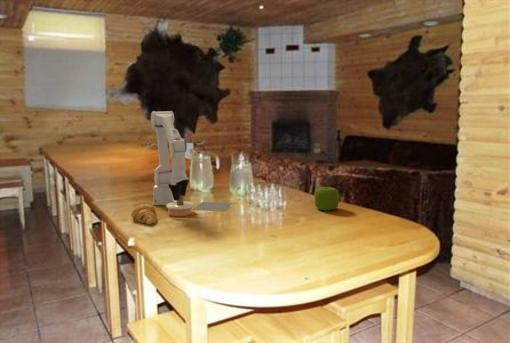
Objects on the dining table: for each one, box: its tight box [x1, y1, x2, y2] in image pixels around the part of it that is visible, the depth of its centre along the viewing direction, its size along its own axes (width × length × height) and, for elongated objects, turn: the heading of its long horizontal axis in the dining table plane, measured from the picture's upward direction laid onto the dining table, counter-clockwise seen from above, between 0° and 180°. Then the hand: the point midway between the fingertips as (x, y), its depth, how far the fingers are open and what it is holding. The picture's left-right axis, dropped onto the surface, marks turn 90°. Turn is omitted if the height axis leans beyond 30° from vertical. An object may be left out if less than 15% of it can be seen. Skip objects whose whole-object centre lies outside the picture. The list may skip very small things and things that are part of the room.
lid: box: [165, 195, 195, 210], centre depth 194 cm, size 12×12×5 cm
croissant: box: [130, 202, 158, 225], centre depth 187 cm, size 21×10×8 cm, turn 30°
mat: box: [192, 201, 233, 212], centre depth 207 cm, size 15×15×1 cm
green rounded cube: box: [314, 186, 340, 212], centre depth 202 cm, size 11×11×11 cm
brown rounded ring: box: [167, 207, 193, 217], centre depth 195 cm, size 10×10×4 cm
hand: (179, 198), depth 194 cm, fingers open, 7 cm apart
